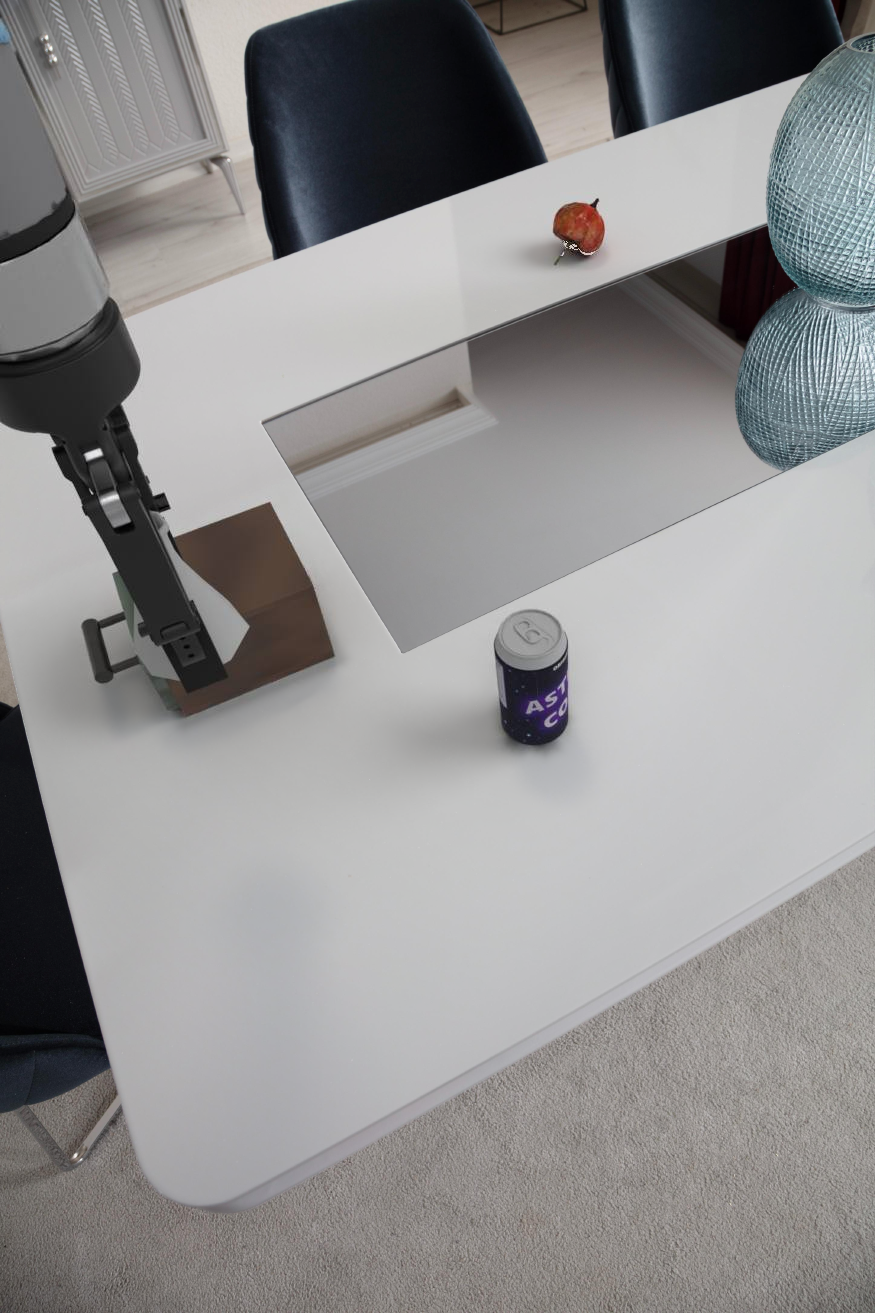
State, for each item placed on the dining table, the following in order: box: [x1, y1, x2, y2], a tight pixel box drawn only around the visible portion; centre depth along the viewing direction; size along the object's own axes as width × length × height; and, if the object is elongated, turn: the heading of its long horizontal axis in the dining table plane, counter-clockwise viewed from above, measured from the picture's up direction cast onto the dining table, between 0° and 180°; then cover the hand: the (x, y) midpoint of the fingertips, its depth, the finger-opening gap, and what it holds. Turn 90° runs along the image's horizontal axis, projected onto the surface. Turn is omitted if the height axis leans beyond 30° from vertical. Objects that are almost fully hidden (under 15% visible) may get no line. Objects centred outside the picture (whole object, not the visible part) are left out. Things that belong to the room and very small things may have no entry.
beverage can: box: [493, 608, 569, 746], centre depth 75 cm, size 6×6×12 cm
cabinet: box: [165, 501, 336, 718], centre depth 85 cm, size 15×13×10 cm
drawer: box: [80, 570, 181, 713], centre depth 85 cm, size 18×11×8 cm, turn 114°
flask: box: [133, 511, 250, 681], centre depth 57 cm, size 7×7×10 cm
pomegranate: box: [552, 197, 606, 266], centre depth 126 cm, size 7×7×10 cm
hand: (191, 637), depth 60 cm, fingers closed on flask, 7 cm apart
